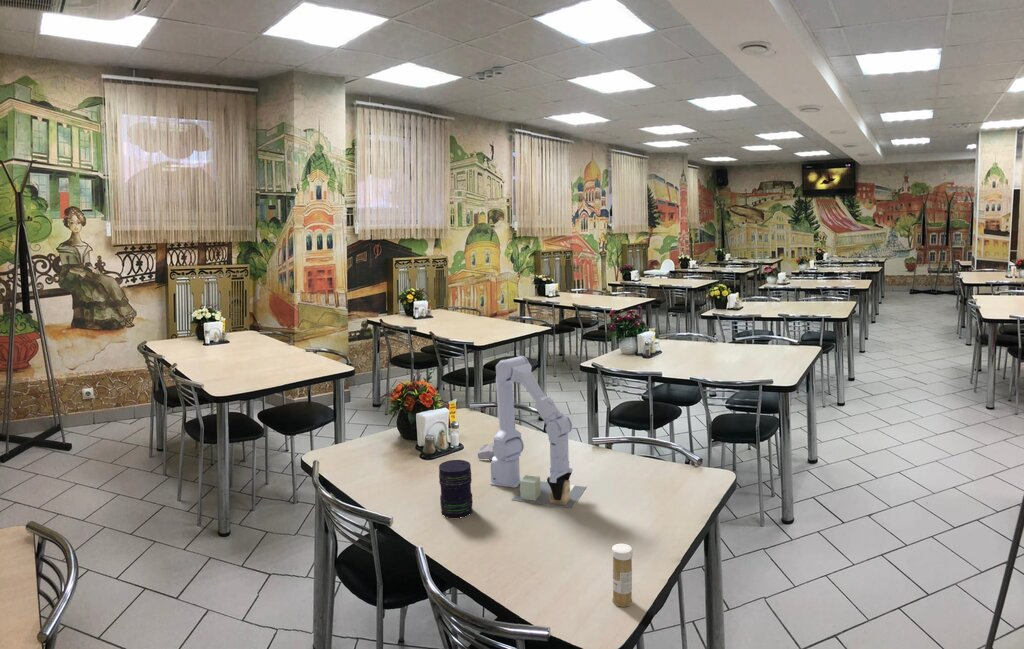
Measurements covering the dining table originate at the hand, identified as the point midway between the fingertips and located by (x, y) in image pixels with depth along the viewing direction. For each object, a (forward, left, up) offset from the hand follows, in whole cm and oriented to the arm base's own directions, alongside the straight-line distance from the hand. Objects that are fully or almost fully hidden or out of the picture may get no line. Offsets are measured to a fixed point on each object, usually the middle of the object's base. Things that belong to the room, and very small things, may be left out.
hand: (560, 496), depth 202 cm
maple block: (0, 0, -2) cm, 2 cm away
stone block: (-37, +31, -2) cm, 49 cm away
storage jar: (-28, -17, -2) cm, 33 cm away
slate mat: (-5, +5, -2) cm, 7 cm away
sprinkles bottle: (+30, -48, -2) cm, 57 cm away
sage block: (-10, 0, -2) cm, 10 cm away
